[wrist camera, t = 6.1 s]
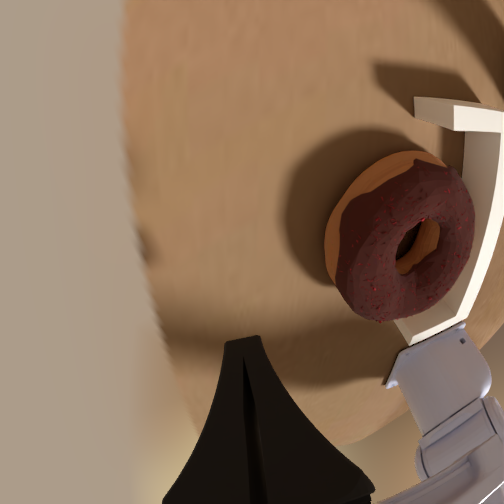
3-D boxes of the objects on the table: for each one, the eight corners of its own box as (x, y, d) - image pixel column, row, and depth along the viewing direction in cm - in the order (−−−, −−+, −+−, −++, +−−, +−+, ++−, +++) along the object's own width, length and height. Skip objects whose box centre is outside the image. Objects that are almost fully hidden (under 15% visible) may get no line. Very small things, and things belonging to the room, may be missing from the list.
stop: (481, 103, 11) (516, 114, 8) (448, 295, 20) (466, 317, 17) (413, 96, 11) (453, 105, 8) (392, 318, 20) (409, 345, 17)
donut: (340, 125, 12) (387, 144, 8) (464, 165, 13) (507, 190, 10) (299, 294, 17) (318, 343, 14) (414, 289, 19) (441, 324, 15)
